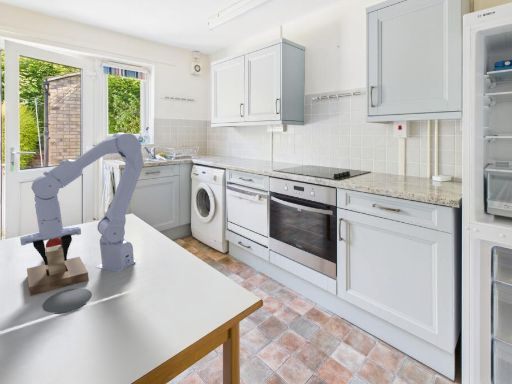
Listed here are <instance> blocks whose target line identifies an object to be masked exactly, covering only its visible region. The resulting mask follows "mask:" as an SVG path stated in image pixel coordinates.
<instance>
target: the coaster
mask: <svg viewBox="0 0 512 384" xmlns="http://www.w3.org/2000/svg"><path fill="white" fill-rule="evenodd" d="M92 296H93V294H92V291H91V290H89V289H87V288H83V287H82V288H70V289H67V290H63V291H59V292H57V293H55V294H53V295H51V296H49V297H48V298H46V300H45V301H44V302H43V304H42V309H43V310H44V311H45V312H48V313H53V315H60V314H67V313H70V312H74V311H76V310H78V309H81V308H83V307H84V306H86V305H87V304H88V303H87V302H89V301H90V299H91V298H92Z"/></svg>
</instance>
